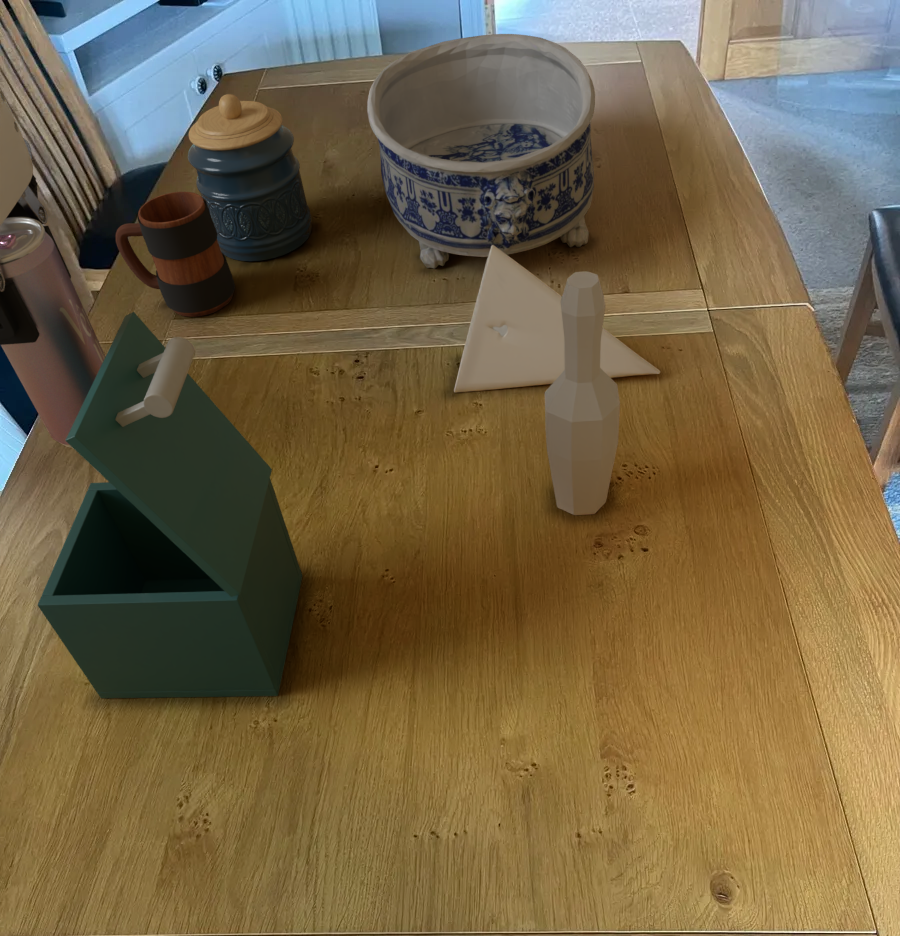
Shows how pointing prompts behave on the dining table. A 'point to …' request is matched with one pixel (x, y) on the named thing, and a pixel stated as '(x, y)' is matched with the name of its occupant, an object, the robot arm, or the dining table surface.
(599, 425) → the low poly bottle
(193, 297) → the mug
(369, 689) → the dining table surface
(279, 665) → the cool box
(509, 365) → the drafting triangle
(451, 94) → the decorative bowl
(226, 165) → the canister
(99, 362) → the beverage can
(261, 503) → the cool box lid
